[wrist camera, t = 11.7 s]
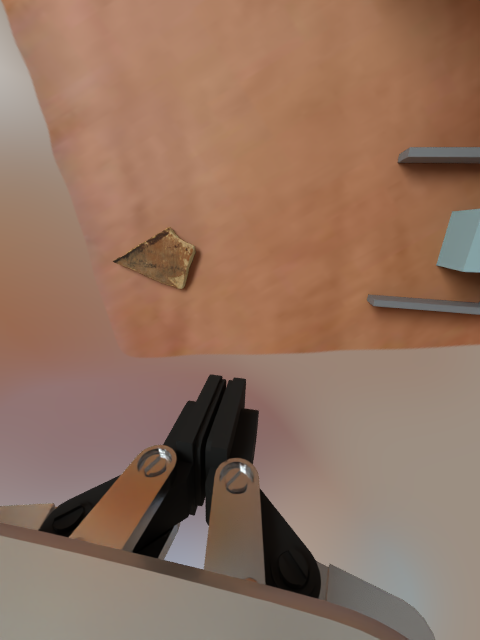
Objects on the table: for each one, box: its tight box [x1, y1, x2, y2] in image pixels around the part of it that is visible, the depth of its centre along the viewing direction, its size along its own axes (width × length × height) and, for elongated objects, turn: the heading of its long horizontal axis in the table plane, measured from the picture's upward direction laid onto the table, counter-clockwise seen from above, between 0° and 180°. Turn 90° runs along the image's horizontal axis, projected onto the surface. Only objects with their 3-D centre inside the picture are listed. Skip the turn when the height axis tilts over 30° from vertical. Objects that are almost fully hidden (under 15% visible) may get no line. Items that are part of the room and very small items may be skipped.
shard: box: [113, 227, 195, 289], centre depth 35 cm, size 11×8×2 cm
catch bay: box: [367, 147, 480, 315], centre depth 28 cm, size 17×14×2 cm
